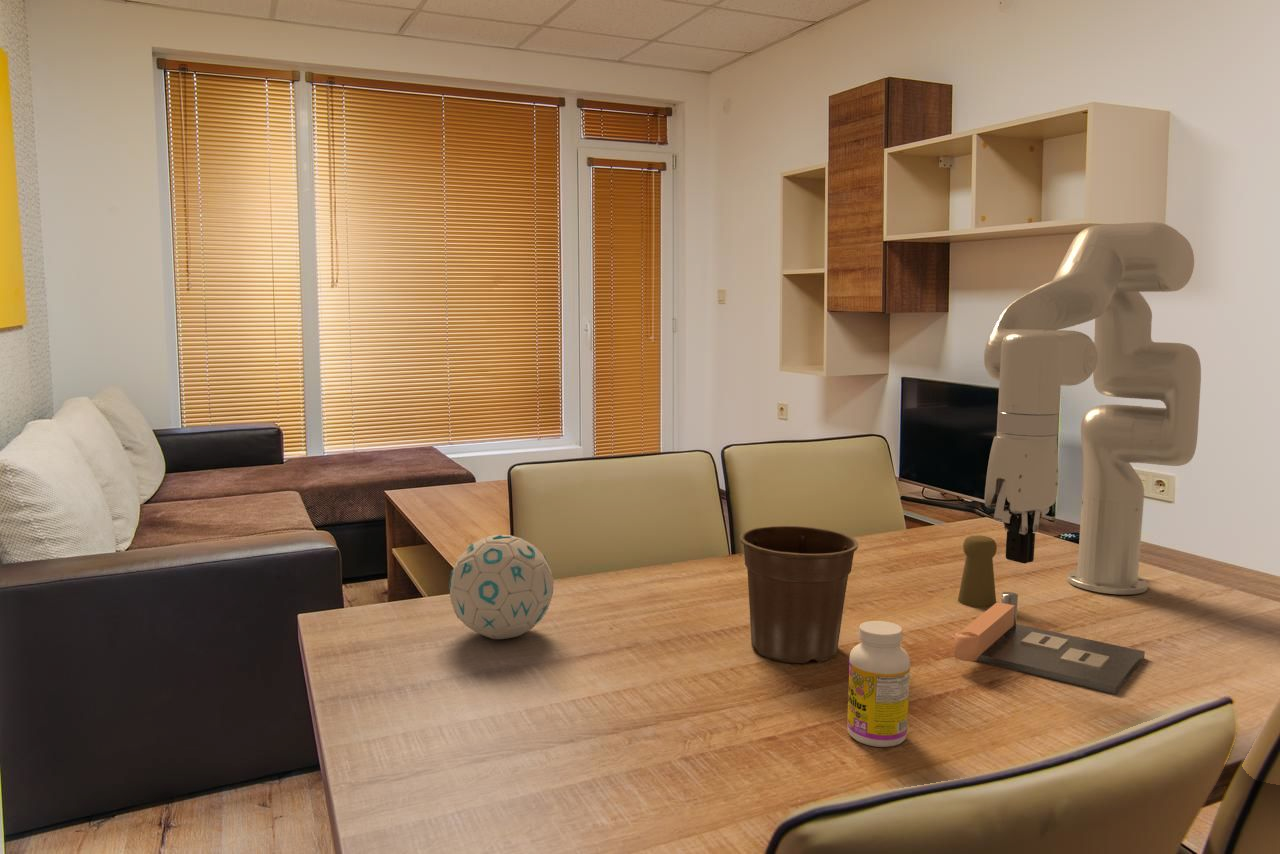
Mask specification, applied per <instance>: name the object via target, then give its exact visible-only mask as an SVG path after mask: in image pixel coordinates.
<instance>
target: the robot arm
mask: <svg viewBox="0 0 1280 854" xmlns="http://www.w3.org/2000/svg"><path fill="white" fill-rule="evenodd" d="M1194 268H1195V253H1194V250H1193V247H1192V245H1191V243H1190V242H1189V239H1187V237H1185V236H1184V235H1183V234H1182V233H1181V232H1179V231H1178V230H1177V229H1175V228H1174V227H1173V226H1171V225H1168V224H1165V223H1161V222H1156V221H1155V222H1154V221H1151V222H1148V221H1147V222H1132V223H1131V222H1130V223H1129V222H1127V223H1106V224H1105V223H1104V224H1103V223H1102V224H1097V225H1092V226H1088V227H1086V228H1085V229H1083V230H1081V231H1080V232H1079V233H1078V234H1076V235H1075V237H1074V238H1073V240H1072V242H1071V243H1070V245H1069V248H1068V249H1067V251H1066V254H1065V255H1064V257H1063V259H1062V261H1061V263H1060V265H1059V267H1058V269H1057V271H1056V273H1055V275H1054V277H1053V279H1052V280H1051V281H1049V282H1046V283H1044V284H1042V285H1041V286H1039V287H1036V288H1035V289H1033V290H1031V291H1030V292H1028V293H1026V294H1023V295H1022V296H1021V297H1019V298H1017V299H1016V300H1015V301H1013V302H1011V303H1010V304H1009V305H1007V307H1005V308H1004V309H1003V311H1002V312H1001V313H1000V315H999V317H998V319H997V320H996V322H995V323H994V325H993V328H992V330H991V332H990V334H989V336H988V339H987V341H986V344H985V348H984V353H983V361H984V362H983V363H984V368H985V370H986V372H987V373H988V375H989V376H990V377H991V378H993V379H994V380H996V381H998V383H999V385H998V401H997V402H998V404H997V419H996V420H997V421H996V422H997V423H996V435H995V436H993V440H992V444H991V447H990V452H989V459H988V465H987V471H986V477H985V478H986V479H985V487H984V505H985V507H987V508H988V509H992V510H993V509H994V514H993V521H996V522H1001V523H1003V527H1004V530H1005V531H1006V540H1005V541H1006V543H1005V558H1006V559H1007V560H1009V561H1013V562H1017V563H1020V564H1024V565H1025V564H1028V563H1033V562H1034V559H1035V543H1036V533H1037V532H1038V530H1039V526H1040V520H1041V518H1042V517H1043V516H1045V515H1047V514H1048V513H1049V511H1050V507H1051V506H1053V505H1054V504H1055V503H1056V500H1057V496H1058V494H1057V493H1058V483H1059V451H1058V434H1059V420H1060V419H1059V417H1060V403H1061V389H1062V388H1061V387H1062V386H1063V387H1064V386H1065V387H1066V386H1067V387H1068V386H1069V387H1071V386H1077V385H1079V384H1082V383H1083V382H1086V381H1087V380H1088V379H1089V378H1090V377H1091V376H1092V378H1093V379H1092V381H1093V385H1094V387H1095V389H1096V391H1097V392H1098V393H1100V394H1101V395H1104V396H1107V397H1113V398H1122V399H1123V398H1124V399H1134V400H1135V399H1137V400H1151V401H1152V400H1154V401H1161V402H1163V404H1164V406H1165V407H1152V406H1151V407H1150V406H1141V405H1127V404H1126V405H1125V404H1101V405H1097V406H1095V407H1092V408H1090V409H1089V410H1087V411H1086V412H1085V414H1084V415H1083V417H1082V419H1081V423H1080V439H1081V448H1082V459H1083V479H1082V480H1083V481H1082V497H1081V512H1080V526H1079V538H1078V539H1079V541H1078V542H1079V543H1078V557H1077V569H1072V570H1070V571H1069V572H1068V573H1067V576H1066V577H1067V579H1066V580H1067V581H1068V583H1069V584H1071V585H1072V586H1075V587H1077V588H1080V589H1083V590H1086V591H1091V592H1094V593H1099V594H1107V595H1109V594H1110V595H1120V596H1122V595H1124V596H1127V595H1131V596H1132V595H1138V594H1142V593H1145V592H1146V591H1147V590H1148V582H1147V580H1145V579H1144V578H1142V577H1141V576H1139V567H1140V555H1141V554H1140V553H1141V544H1142V543H1141V542H1142V541H1141V540H1142V530H1143V529H1142V527H1143V515H1144V501H1145V499H1144V498H1145V488H1144V484H1143V481H1142V480H1141V478H1140V476H1139V474H1138V473H1137V471H1136V470H1135V469H1134V467H1133V466H1132V464H1133V463H1134V464H1136V463H1138V464H1147V465H1148V464H1149V465H1157V466H1170V467H1180V466H1181V467H1182V466H1184V465H1187V464H1189V463H1190V462H1191V461H1192V459H1193V458H1194V456H1195V453H1196V449H1197V443H1198V435H1199V434H1198V433H1199V418H1200V417H1199V416H1200V415H1199V414H1200V401H1201V399H1200V397H1201V386H1202V385H1201V384H1202V383H1201V382H1202V368H1201V367H1202V365H1201V359H1200V357H1199V354H1198V351H1196V349H1195V348H1194V347H1193V346H1191V345H1189V344H1186V343H1182V342H1181V343H1180V342H1158V341H1157V342H1155V341H1153V339H1152V324H1153V323H1152V321H1153V320H1152V319H1153V314H1152V313H1153V312H1152V310H1151V307H1150V304H1149V303H1148V302H1147V300H1146V298H1144V296H1143V295H1142V294H1141V292H1142V293H1143V292H1144V293H1145V292H1146V293H1147V292H1148V293H1149V292H1151V293H1152V292H1155V293H1156V292H1161V293H1163V292H1165V293H1168V292H1177V291H1180V290H1182V289H1183V288H1185V286H1186V285H1188V284H1189V282H1190V280H1191V278H1192V277H1193V276H1192V275H1193V273H1194ZM1093 320H1094V338H1093V339H1094V340H1093V339H1092V338H1091V337H1090V336H1089V335H1087V334H1086V333H1084V332H1082V331H1081V332H1080V331H1078V330H1077V331H1076V330H1063V329H1067V328H1071V327H1075V326H1077V325H1081V324H1084V323H1086V322H1087V323H1088V322H1090V321H1093ZM1131 463H1132V464H1131Z"/></svg>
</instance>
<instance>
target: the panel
mask: <svg viewBox="0 0 1280 854" xmlns="http://www.w3.org/2000/svg"><path fill="white" fill-rule="evenodd" d="M1018 599H1019V595H1018V593H1015V592H1012V591H1004V592H1002V593H1001V603H1005V604H1010V605H1015V609H1014V625H1013V626H1012V627H1011V628H1010V629H1009V630H1008V631H1006V632H1005V633H1004V634H1003V635H1002V636H1001V637H1000V638H999V639H997V640H996V641H995V642H994V643H993V644H992V645H991V646H990V647H989V648H987V649H986V650H985V651H984V652H983V653H982V654H981V655H980V656H978V659H977V660H976V661H975V662H981V663H984V664H988V665H992V666H997V667H1001V668H1005V669H1010V670H1013V671H1016V670H1017V671H1018V672H1021V673H1026V674H1029V675H1034V676H1037V675H1038V676H1037V677H1041V676H1042V678H1045V679H1049V678H1050V680H1055V681H1059V682H1062V681H1063V682H1062V683H1066V682H1067V684H1070V683H1071V685H1074V684H1075V686H1078V685H1079V687H1083V688H1087V689H1091V690H1095V691H1100V692H1103V693H1106V694H1107V693H1108V694H1110V695H1111V694H1112V695H1116V694H1117V693H1118V692H1119V691H1120V689H1121V688H1122V686H1123V685H1124V684H1125V683H1126V681H1127V680H1129V678H1130V677H1131V676H1132V674H1133V673H1134V672H1135V671H1136V670H1137V668H1138V667H1139V665H1140V664H1141V663H1142V662H1143V661H1144V659H1145V657H1146V656H1145V653H1146V651H1144V650H1140V649H1136V648H1131V647H1126V646H1122V645H1118V644H1117V645H1116V644H1113V643H1107V642H1102V641H1098V640H1093V639H1088V638H1084V637H1079V636H1076V635H1075V636H1073V635H1069V634H1065V633H1062V632H1061V633H1059V632H1056V631H1050V630H1047V629H1042V628H1037V627H1032V626H1028V625H1023V624H1018V623H1017V616H1018Z"/></svg>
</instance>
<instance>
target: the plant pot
mask: <svg viewBox="0 0 1280 854" xmlns="http://www.w3.org/2000/svg"><path fill="white" fill-rule="evenodd" d="M739 539H740V542H741V544H742V545H743V553H744V556H743V557H744V564H745V567H746V569H747V585H748V588H747V589H748V603H749V605H748V606H749V619H750V621H749V622H750V623H749V624H750V638H751V641H750V642H751V644H750V645H751V648H752V649H754V650H756V651H757V653H758V654H759V655H761V656H763V657H765V658H768V659H770V660H774V661H778V662H783V663H790V664H791V663H792V664H807V663H808V662H810V661H813V660H814V661H817V662H819V663H820V662H825V661H827V660H828V661H829V659H832V658H833V657H835V656H836V655H837V653H838V649H839V641H840V636H841V635H840V634H841V627H842V619H843V615H844V614H843V612H844V605H845V599H846V592H847V584H848V579H849V575H850V574H851V572H852V566H853V560H854V555H855V552H856V551H857V550H858V548H859V542H858V541H857V539H855V538H854V537H852V536H851V535H849V534H845V533H843V532H839V531H836V530H831V529H826V528H822V527H821V528H820V527H814V526H813V527H811V526H803V525H802V526H801V525H773V526H762V527H754V528H751V529H748V530H746V531H744V532H742V533H741V535H740V536H739Z"/></svg>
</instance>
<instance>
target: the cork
mask: <svg viewBox="0 0 1280 854" xmlns="http://www.w3.org/2000/svg"><path fill="white" fill-rule="evenodd" d="M962 549H963V553H964V555H965V560H964V566H963V572H962V575H961V576H962V577H961V580H960V581H961V582H960V585H959V586H960V587H959V593H958V596H957V602H959V604H962V605H964V606H967V607H972V608H981V609H982V608H984V609H986V608H987V609H988V608H990V607H992V606H993V605H994V604H995V603H997V595H996V584H995V582H996V581H995V573H994V571H995V570H994V560H993V558H994V557H995V555H996V554H997V550H998V549H997V542H996V540H995V539H993V538H992V537H991V536H990V537H989V536H986V535H978V534H977V535H969V536H967V537H966V538H964V541H963V545H962Z"/></svg>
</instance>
